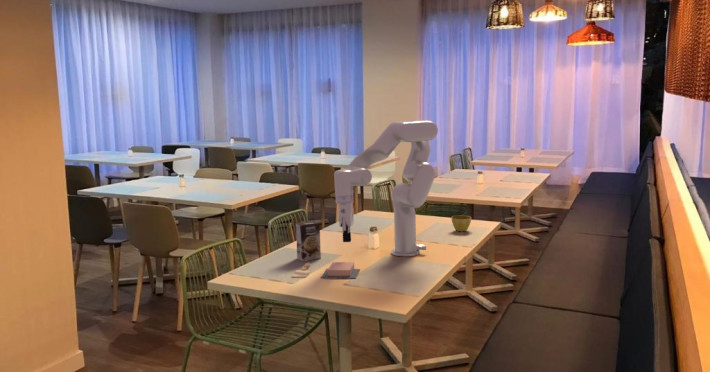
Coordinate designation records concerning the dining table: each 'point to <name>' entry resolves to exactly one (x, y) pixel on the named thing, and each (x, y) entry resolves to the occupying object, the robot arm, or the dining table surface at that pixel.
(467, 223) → the flower pot
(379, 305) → the dining table surface
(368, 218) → the dining table surface
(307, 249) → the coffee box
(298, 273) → the beech turner
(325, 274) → the charcoal mat
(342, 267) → the pale grey upright block
